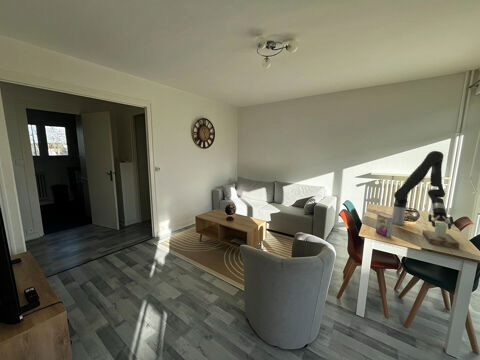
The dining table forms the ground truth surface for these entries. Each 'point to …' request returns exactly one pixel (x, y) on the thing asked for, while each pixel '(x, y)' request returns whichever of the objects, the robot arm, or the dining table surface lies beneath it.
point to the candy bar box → (384, 225)
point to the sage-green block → (440, 230)
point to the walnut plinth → (440, 239)
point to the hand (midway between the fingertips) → (441, 227)
